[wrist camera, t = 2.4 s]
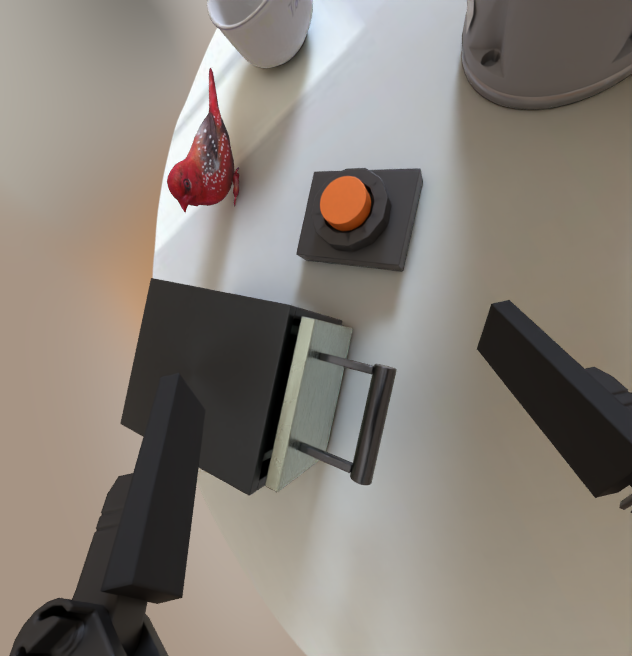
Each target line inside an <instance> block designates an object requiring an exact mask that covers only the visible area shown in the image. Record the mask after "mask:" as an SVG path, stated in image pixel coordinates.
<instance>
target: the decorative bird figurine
mask: <svg viewBox="0 0 632 656" xmlns="http://www.w3.org/2000/svg"><path fill="white" fill-rule="evenodd" d="M238 169H239V167H238V168H237V169H236V171H235V172H234V160H233V156H232V151H231V146H230V139H229V135H228V132H227V130H226V127H225V125H224V123H223V120H222V118H221V115H220V111H219V107H218V101H217V95H216V88H215V82H214V76H213V72H212V69H211V68H210V70H209V114H208V115H207V117H206V118H205V119H204V121H203V122H202V124H201V126H200V127H199V129H198V131H197V134H196V136H195V138H194V141H193V144H192V147H191V149H190V151H189V153H188V155H187V157H186V159H184V160H183V161H181V162H179V163H177V164H176V165H175V166H174V167H173V169H172V170H171V171H170V173H169V175H168V179H167V184H168V188H169V190H170V192H171V194H172V195H173V196H174V197H175V198H176V199H177V200H178V202H179V204H180V205H181V207H182V209H183V210H184V212H186V208H187V206H188V205H192V206H198V205H207V206H208V205H213V204H216V203H218V202H220V201H222V200H223V199H224V198H225V197H226V195H227V194H228V192H229V190H230V188H231V185H232V181H233V185H234V188H233V193H234V196H235V199H234V206H235V202H236V197H237V195H238V193H239V180H238V179H239V174H238V173H237V171H238Z"/></svg>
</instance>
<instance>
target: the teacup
mask: <svg viewBox="0 0 632 656" xmlns="http://www.w3.org/2000/svg"><path fill="white" fill-rule="evenodd" d="M207 8H208V13H209V17H210V19H211V21H212V22H213V24H214V25H215V26H216V27H217V28H219V29H220V30H221V32H222V33H223V34H224V35H225V36H226V38H227V39H228V40H229V41H230V42H231V44H232V45H233V46H234V47H235V48H236V49H237V51H238V52H239V53H240V54H241V55H242V56H243V57H244V58H245V59H246V60H247V61H248V62H250V63H251V64H253V65H255V66H257V67H260V68H271V67H275V66H278V65H282V64H284V63H286V62H287V61H289V60H290V59H291V58H292V57H293V56H294V55H295V54H296V53H297V52H298V50H299V49H300V47H301V46H302V44H303V42H304V40H305V37H306V35H307V31H308V29H309V25H310V22H311V18H312V10H313V0H207Z"/></svg>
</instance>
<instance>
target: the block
mask: <svg viewBox="0 0 632 656" xmlns="http://www.w3.org/2000/svg"><path fill="white" fill-rule="evenodd" d="M343 176H352V177H356V178H358V179H359V180H360V181H361V182H362V183H363V184H364V186H365V188H366V190H367V191H368V193H369V195H370V198H371V209H370V213H369V215H368V217H367V218H366V220H365V221H364V222H363V223H362V224H361V225H360V226H359V227H357V228H355V229H353V230H350V231H340V230H337V229H335V228H334V227H332V226H331V225H330V224H329V223H328V222H327V221H326V219H325V218H324V217H323V215H322V213H321V210H320V200H321V196H322V194H323V192H324V190H325V189H326V187H327V186H328V185H329V184H330V183H331V182H332V181H334V180H335V179H337V178H340V177H343ZM422 183H423V179H422V174H421V169H387V170H368V169H366V168H355V169H345V170H343V171H322V172H314V175H313V180H312V184H311V189H310V194H309V198H308V203H307V207H306V212H305V217H304V221H303V226H302V231H301V235H300V240H299V244H298V249H297V255H298V256H300V257H302V258H303V259H305V260H309V261H318V262H326V263H335V264H344V265H352V266H361V267H370V268H378V269H387V270H396V271H403V269H404V264H405V260H406V255H407V251H408V246H409V242H410V237H411V233H412V228H413V224H414V219H415V214H416V210H417V205H418V201H419V196H420V192H421V187H422Z"/></svg>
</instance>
